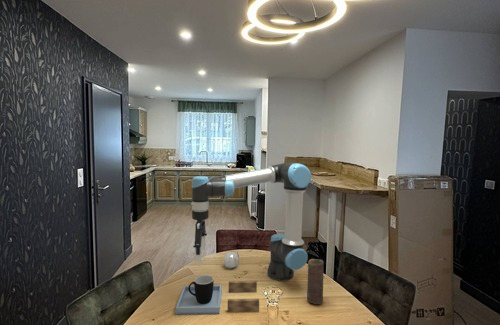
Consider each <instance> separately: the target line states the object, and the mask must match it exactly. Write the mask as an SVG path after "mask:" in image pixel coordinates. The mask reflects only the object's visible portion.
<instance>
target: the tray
mask: <svg viewBox="0 0 500 325" xmlns="http://www.w3.org/2000/svg"><path fill="white" fill-rule="evenodd" d="M188 288H189V285H184V286H183V288H182V289H181V290H182V291H181V293H180V295H179V298H178V301H177V303H176V305H175V316H182V315H184V316H187V315H188V314H189V315H191V314H192V315H220V313H221V304H222V303H221V302H222V294H223V285H222V284H217V285H215V284H214V285H213V294H212V299H211V301H210V302H209V303H206V304H200V303H198V302H197V300H196V297H195V296H194V295H192V294H190V292H189V289H188ZM190 290H191V292H192V293H194V294H195V287H194V285H191V286H190ZM189 315H188V316H189Z"/></svg>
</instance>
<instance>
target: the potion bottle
mask: <svg viewBox="0 0 500 325" xmlns="http://www.w3.org/2000/svg"><path fill="white" fill-rule="evenodd" d="M239 259H240V255H239V252H238V251H234V250H233V251H232V250H231V251H228V252H227V253H225V254H224V255H223V259H222V261H223V262H222V263H223V265H224V266H225V268H227V269H234V268H235V267H237V266H238V264H239V262H240V260H239Z"/></svg>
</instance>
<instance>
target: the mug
mask: <svg viewBox="0 0 500 325" xmlns="http://www.w3.org/2000/svg"><path fill="white" fill-rule="evenodd" d="M214 281H215V280H214V277H213V276H212V275H209V274H203V275H198V276H197V277H195V278H194V280H193V281H192V282H190V284H188V286H189V288H188V289H189V292H190V294H192V295H194V296H195V297H196V300H197V302H198V303H200V304H206V303H209V302H210V301H211V299H212V294H213V285H215V283H214ZM190 286H194V287H195V294H194V293H192V292H191V290H190Z"/></svg>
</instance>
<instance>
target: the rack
mask: <svg viewBox="0 0 500 325" xmlns="http://www.w3.org/2000/svg"><path fill="white" fill-rule="evenodd" d="M257 284H258V282H257V280H248V281H247V280H246V281H245V280H243V281H242V280H241V281H232V280H231V281H230V280H229V281H228V293H231V294H232V293H234V294H235V293H237V294H238V293H239V294H241V293H257V289H258V286H257ZM246 312H247V313H249V312H250V313H251V312H255V313H256V312H260V299H259V298H228V299H227V313H246Z"/></svg>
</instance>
